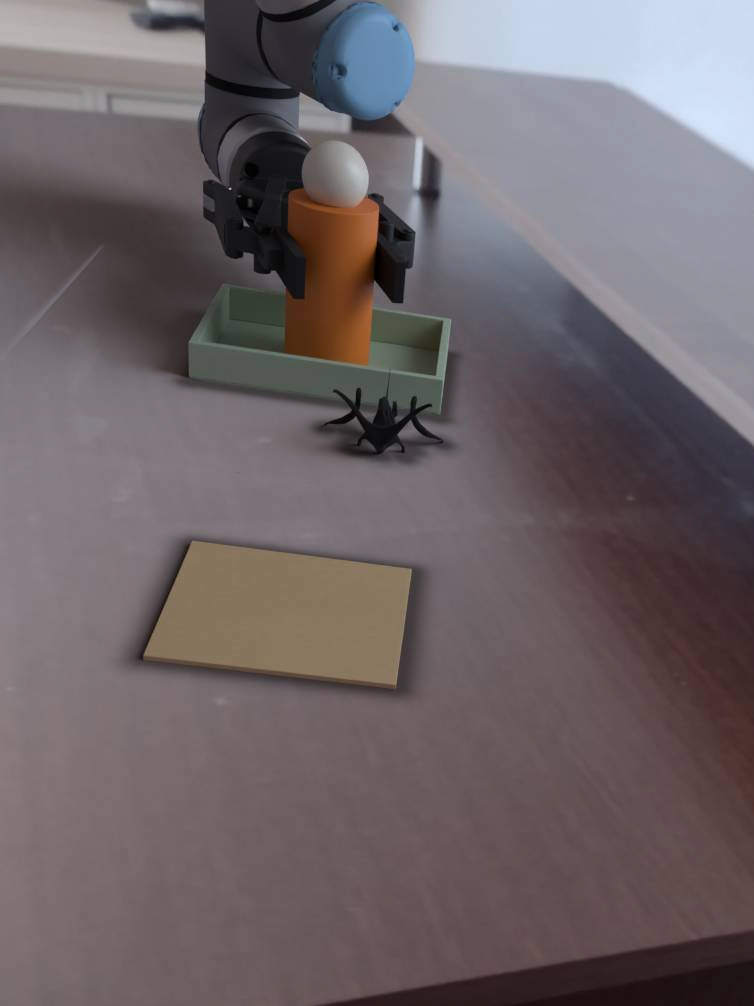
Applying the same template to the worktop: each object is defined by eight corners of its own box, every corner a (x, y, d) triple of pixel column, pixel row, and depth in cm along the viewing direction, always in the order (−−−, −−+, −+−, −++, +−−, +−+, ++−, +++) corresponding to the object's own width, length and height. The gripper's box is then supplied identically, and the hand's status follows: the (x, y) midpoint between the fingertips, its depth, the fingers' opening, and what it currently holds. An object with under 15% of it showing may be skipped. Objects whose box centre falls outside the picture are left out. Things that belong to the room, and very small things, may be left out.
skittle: (278, 369, 93) (284, 143, 84) (290, 340, 98) (296, 123, 89) (364, 382, 94) (379, 159, 85) (371, 353, 99) (386, 139, 90)
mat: (143, 662, 63) (142, 655, 63) (192, 546, 73) (191, 540, 73) (395, 691, 65) (396, 684, 65) (411, 574, 74) (411, 568, 74)
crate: (188, 385, 90) (188, 341, 88) (222, 323, 100) (222, 282, 98) (439, 422, 92) (443, 380, 91) (447, 357, 103) (451, 318, 101)
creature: (328, 433, 90) (313, 455, 83) (334, 352, 88) (319, 367, 81) (443, 450, 91) (438, 473, 84) (451, 370, 89) (448, 386, 82)
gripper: (390, 238, 110) (479, 341, 94) (151, 223, 102) (203, 332, 86) (397, 140, 105) (492, 231, 89) (148, 117, 98) (202, 211, 82)
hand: (350, 280), depth 88 cm, fingers closed on skittle, 6 cm apart
